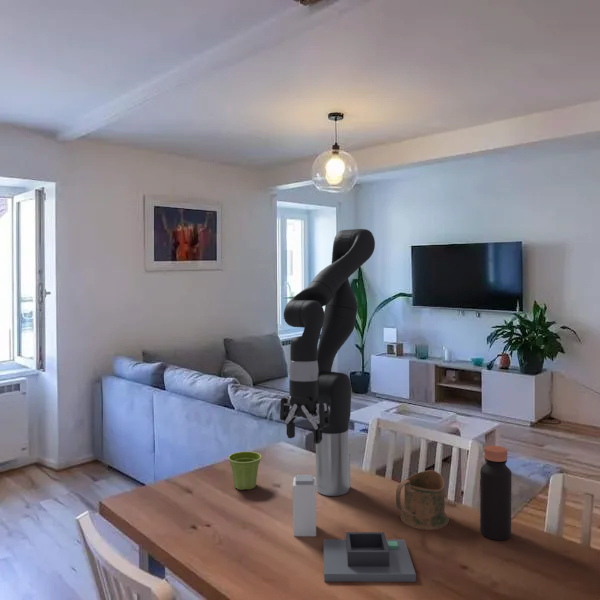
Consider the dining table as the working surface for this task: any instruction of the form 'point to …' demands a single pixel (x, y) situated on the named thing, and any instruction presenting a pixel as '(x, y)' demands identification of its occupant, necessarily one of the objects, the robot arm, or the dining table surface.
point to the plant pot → (245, 469)
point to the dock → (367, 559)
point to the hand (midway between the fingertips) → (303, 440)
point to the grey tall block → (304, 505)
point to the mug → (423, 501)
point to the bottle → (495, 495)
